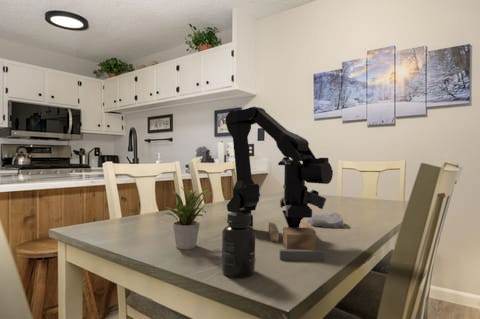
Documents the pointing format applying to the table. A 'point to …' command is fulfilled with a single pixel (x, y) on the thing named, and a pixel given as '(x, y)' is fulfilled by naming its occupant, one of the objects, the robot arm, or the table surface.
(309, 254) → the bar
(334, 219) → the stone block
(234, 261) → the supplement bottle
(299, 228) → the walnut block
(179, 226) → the house plant
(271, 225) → the oak chute
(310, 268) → the table surface
